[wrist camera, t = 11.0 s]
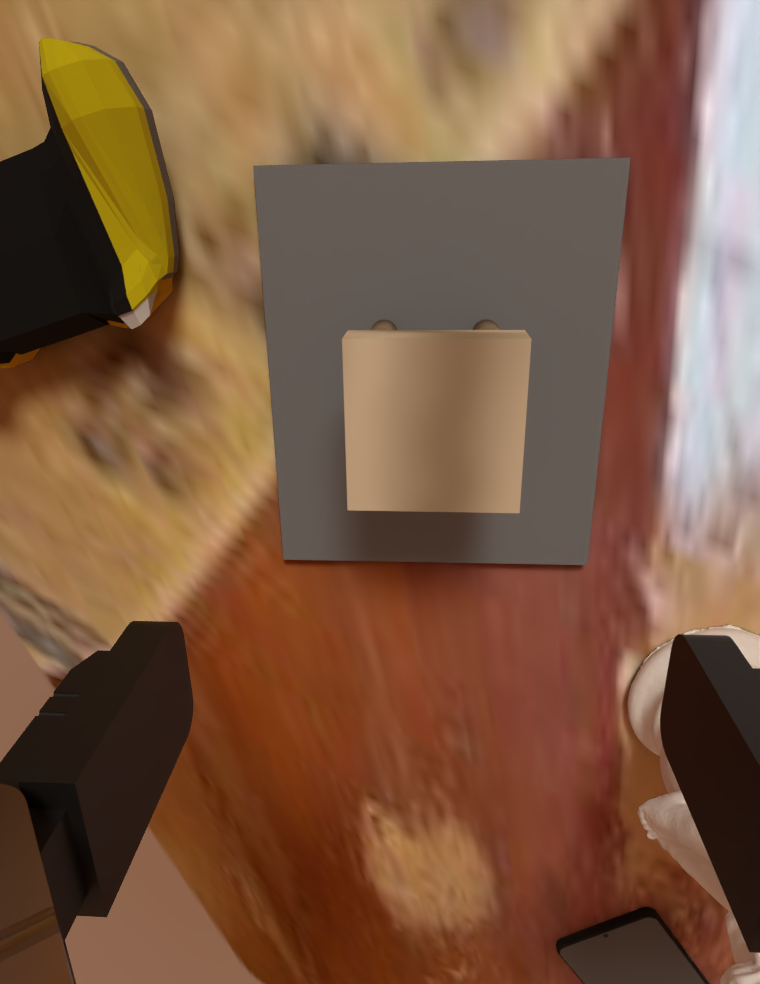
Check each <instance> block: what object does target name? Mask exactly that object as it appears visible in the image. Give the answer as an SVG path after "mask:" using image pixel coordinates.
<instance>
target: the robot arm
mask: <svg viewBox="0 0 760 984" xmlns="http://www.w3.org/2000/svg"><path fill="white" fill-rule="evenodd" d="M39 713H40V714H39V716H35V718H34V719H33V720H32V721H31V723H30V724H29V726H28V727H27V728H26V729H25V731H24V732H23V733H22V735H21V736H20V737H19V739H18V740H17V741H16V743H15V744H14V745H13V747H12V748H11V749H10V750H9V752H8V753H7V754H6V756H5V757H4V759H3V760H2V761H1V762H0V984H76V981H75V977H74V973H73V970H72V966H71V962H70V958H69V954H68V951H67V947H66V943H65V938H66V936H67V934H68V932H69V930H70V928H71V926H72V924H73V922H74V920H75V918H76V916H95V917H107V915H108V913H109V911H110V909H111V906H112V904H113V902H114V900H115V898H116V895H117V893H118V891H119V889H120V886H121V884H122V882H123V880H124V877H125V875H126V873H127V871H128V869H129V866H130V864H131V862H132V859H133V857H134V855H135V853H136V851H137V849H138V846H139V844H140V842H141V840H142V837H143V835H144V833H145V831H146V828H147V826H148V824H149V822H150V820H151V817H152V815H153V813H154V811H155V808H156V806H157V804H158V802H159V799H160V797H161V795H162V793H163V791H164V788H165V786H166V784H167V782H168V779H169V777H170V775H171V773H172V771H173V768H174V766H175V764H176V762H177V759H178V757H179V755H180V753H181V750H182V748H183V746H184V744H185V742H186V739H187V737H188V734H189V731H190V727H191V722H192V716H193V695H192V688H191V681H190V674H189V667H188V661H187V654H186V647H185V640H184V634H183V630H182V627H181V625H180V624H179V623H178V622H153V621H133V622H131V623H130V624H129V625H128V626H127V627H126V629H125V630H124V632H123V633H122V634H121V636H120V637H119V639H118V640H117V642H116V643H115V644H114V646H113V647H112V649H111V650H110V651H97V652H95V653H94V654H92V655H91V656H90V657H88V658H87V659H85V660H84V661H82V662H81V663H80V664H78V665H77V666H75V667H74V668H73V669H71V670H70V671H69V673H68V674H67V675H66V677H65V678H64V679H63V681H62V682H61V683H60V685H59V686H58V687H57V689H56V690H55V691H54V695H53V697H50V698H49V699H48V700H47V702H46V703H45V704H44V706H43V707H42V708H41V710H40V712H39ZM660 731H661V739H662V744H663V748H664V752H665V754H666V757H667V759H668V762H669V764H670V766H671V769H672V771H673V773H674V776H675V778H676V780H677V783H678V785H679V788H680V790H681V792H682V795H683V797H684V799H685V802H686V804H687V806H688V809H689V811H690V813H691V816H692V818H693V821H694V823H695V825H696V828H697V830H698V832H699V835H700V837H701V839H702V842H703V844H704V846H705V849H706V851H707V854H708V856H709V858H710V861H711V863H712V865H713V868H714V870H715V872H716V875H717V877H718V879H719V882H720V884H721V886H722V889H723V891H724V894H725V896H726V898H727V901H728V903H729V905H730V908H731V910H732V912H733V915H734V917H735V919H736V922H737V924H738V927H739V929H740V931H741V934H742V936H743V938H744V941H745V943H746V945H747V948H748V950H749V952H753V953H760V668H752V667H751V665H750V664H749V662H748V661H747V660H746V658H745V657H744V655H743V654H742V652H741V651H740V649H739V648H738V646H737V645H736V644H735V642H734V641H733V640H732V638H731V637H729V636H727V635H686V634H678V635H677V636H676V637H675V638H674V640H673V643H672V647H671V653H670V659H669V665H668V671H667V677H666V683H665V689H664V695H663V701H662V706H661V713H660Z"/></svg>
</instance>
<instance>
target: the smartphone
mask: <svg viewBox="0 0 760 984" xmlns="http://www.w3.org/2000/svg"><path fill="white" fill-rule="evenodd" d="M630 923H631V924H630ZM556 947H557V951H558V953H559V954H560V956H561V957H562V958H563V959H564V960H565V962H566V963H567V964H568V965H569V966H570V968H571V969H572V970H573V971H574V972H575V974H576V975H577V976H578V977H579V978H580V980H581V981H582V982H583V983H584V984H709V982H708V981H707V980H706V978H705V977H704V976H703V974H702V973H701V972H700V970H699V969H698V968H697V966H696V965H695V964H694V962H693V961H692V960H691V958H690V957H689V956H688V954H687V953H686V951H685V950H684V948H683V947H682V946H681V944H680V943H679V942H678V940H677V939H676V938H675V936H674V935H673V934H672V932H671V931H670V930H669V928H668V927H667V926H666V924H665V923H664V922H663V920H662V919H661V918H660V916H659V915H658V914H657V912H656V911H655V910H654V909H652V908H650V907H644V908H640V909H638V910H635V911H632V912H630V913H627V914H624V915H622V916H619V917H616V918H613V919H611V920H608V921H605V922H603V923H600V924H597V925H595V926H592V927H590V928H587V929H584V930H582V931H579V932H576V933H574V934H571V935H568V936H566V937H563V938H561V939H559V940H558V941H557V944H556Z"/></svg>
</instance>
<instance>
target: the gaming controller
mask: <svg viewBox="0 0 760 984" xmlns="http://www.w3.org/2000/svg"><path fill="white" fill-rule="evenodd" d="M39 49H40V64H41V78H42V91H43V95H44V99H45V104H46V108H47V113H48V117H49V122H50V126H51V128H50V130H49V132H48V135H47V137H46V139H45V141H44V142H43V143H41V144H39V145H38V146H36V147H34V148H33V149H31V150H28V151H26V152H23V153H21V154H18V155H16V156H13V157H11V158H8V159H6V160H3V161H1V162H0V368H12V367H16V366H18V365H21V364H23V363H26V362H29V361H31V360H33V359H34V358H35V356H36V354H37V353H38V351H39V350H40V348H42V347H45V346H47V345H50V344H53V343H56V342H59V341H62V340H65V339H68V338H71V337H74V336H76V335H79V334H82V333H85V332H88V331H91V330H94V329H97V328H100V327H103V326H105V325H108V324H109V325H113V326H118V327H122V328H131V329H134V328H136V327H138V326H140V325H141V324H142V323H143V322H144V321H145V320H146V319H147V318H148V317H149V316H151V314H152V313H153V312H154V311H155V310H156V309H157V308H158V307H159V306H160V304H161V303H162V302H163V301H164V300H165V299H166V298H167V297H168V296H169V295H170V293H171V292H172V291H173V287H172V281H173V275H174V274H175V273H176V272H177V271H178V262H179V247H178V236H177V226H176V215H175V205H174V197H173V193H172V189H171V185H170V181H169V177H168V173H167V169H166V165H165V161H164V157H163V153H162V149H161V145H160V141H159V137H158V133H157V129H156V125H155V121H154V117H153V113H152V110H151V108H150V107H149V105H148V103H147V102H146V100H145V98H144V97H143V95H142V93H141V92H140V90H139V88H138V86H137V85H136V83H135V81H134V80H133V78H132V76H131V75H130V73H129V71H128V69H127V68H126V66H125V64H124V63H123V62H122V61H120V60H118V59H116V58H114V57H113V56H111V55H109V54H107V53H105V52H104V51H102V50H100V49H98V48H96V47H95V46H91V45H87V44H82V43H78V42H68V41H61V40H56V39H52V38H49V37H47V38H42V39H41V40H40V41H39Z"/></svg>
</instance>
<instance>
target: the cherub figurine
mask: <svg viewBox="0 0 760 984" xmlns="http://www.w3.org/2000/svg"><path fill="white" fill-rule="evenodd" d="M684 634H686V635H727V636H729V637H731V638H732V640H733V641H734V642H735V644H736V645H737V646H738V648H739V649H740V651H741V652H742V654H743V655H744V657H745V658H746V660H747V661H748V662H749V664H750V665H751V667H752V668H760V636H758V635H756V634H754V633H749V632H747V631H745V630H742V629H741V628H739V627H735V626H733V625H728V626H723V627H716V628H715V627H713V628H711V627H710V628H709V629H701V630H699V629H697V630H694V629H693V630H692V631H689V632H686V633H684ZM673 640H674V639H672V640H670V641H669V642H667V643H664V644H662V646H660V647H657V649H655V651H654V652H652V653H651V654H650V655H649V656H648V657H647V658H646V659H645V661H644V662H643V665H641V666H640V667H641V668H640V669H639V671H638V672H637V674H636V677H635V679H634V681H633V682H632V684H631V686H630V691H629V695H628V701H627V707H628V716H629V721H630V724H631V726H632V729H633V731H634V733H635V734H636V736H637V738H638V739H639V740H640V741H641V742H642V744H643V745H644V746H645V747H646V748H647V749H648V750H650V751H651V752H653V753H654V754H656V755H658V756H660V771H661V776H662V779H663V783H664V786H665V788H666V791H667V793H668V794H665V795H664V794H663V795H662V796H659V797H655V798H651V799H649V800H647V801H645V802H644V803H642V804H641V805H640V806H639V807H638V810H639V811H638V812H637V814H638V816H639V820H640V822H641V823H642V826H643V828H644V829H645V830H647V831H648V833H647V837H648V838H650V839H657V841H658V843H659V844H660V845H661V847H662V848H663V849H665V850H666V851H668V853H669V854H670V855H671V857H672V858H673V859H675V860H676V861H677V862H678V863H679V864H680V866H681V867H682V868H683V869H684V870H685V871H686V872H687V873H688V874H689V875H690V876H691V877H692V878H694V879H695V880H696V881H697V882H698V883H699V884H700V885H701V886H702V887H703V888H704V889H705V890H706V891H707V892H708V893H709V894H710V895H711V896H712V897H713V898H714V899H715V900H717V901H718V902H719V903H720V904H721V905H722V906H723V907H725V908H726V909H727V910H728V911H729V912H728V914H727V915H726V921H725V923H726V928H727V933H728V938H729V942H730V947H731V950H732V954H733V958H734V961H735V965H733V966H730V968H729V969H727V970H726V971H725V972H724V974H723V975H722V977H721V980H720V984H760V953H753V952H749V950H748V948H747V945H746V943H745V941H744V938H743V936H742V934H741V931H740V929H739V927H738V924H737V922H736V919H735V917H734V915H733V912H732V910H731V908H730V905H729V903H728V901H727V898H726V896H725V894H724V891H723V889H722V886H721V884H720V882H719V879H718V877H717V875H716V872H715V870H714V868H713V865H712V863H711V861H710V858H709V856H708V854H707V851H706V849H705V846H704V844H703V842H702V839H701V837H700V835H699V832H698V830H697V828H696V825H695V823H694V821H693V818H692V816H691V813H690V811H689V809H688V806H687V804H686V802H685V799H684V797H683V795H682V792H681V790H680V788H679V785H678V783H677V780H676V778H675V776H674V773H673V771H672V769H671V766H670V764H669V762H668V759H667V757H666V754H665V752H664V748H663V744H662V739H661V731H660V713H661V706H662V701H663V695H664V689H665V683H666V677H667V671H668V665H669V659H670V653H671V647H672V643H673Z"/></svg>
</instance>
